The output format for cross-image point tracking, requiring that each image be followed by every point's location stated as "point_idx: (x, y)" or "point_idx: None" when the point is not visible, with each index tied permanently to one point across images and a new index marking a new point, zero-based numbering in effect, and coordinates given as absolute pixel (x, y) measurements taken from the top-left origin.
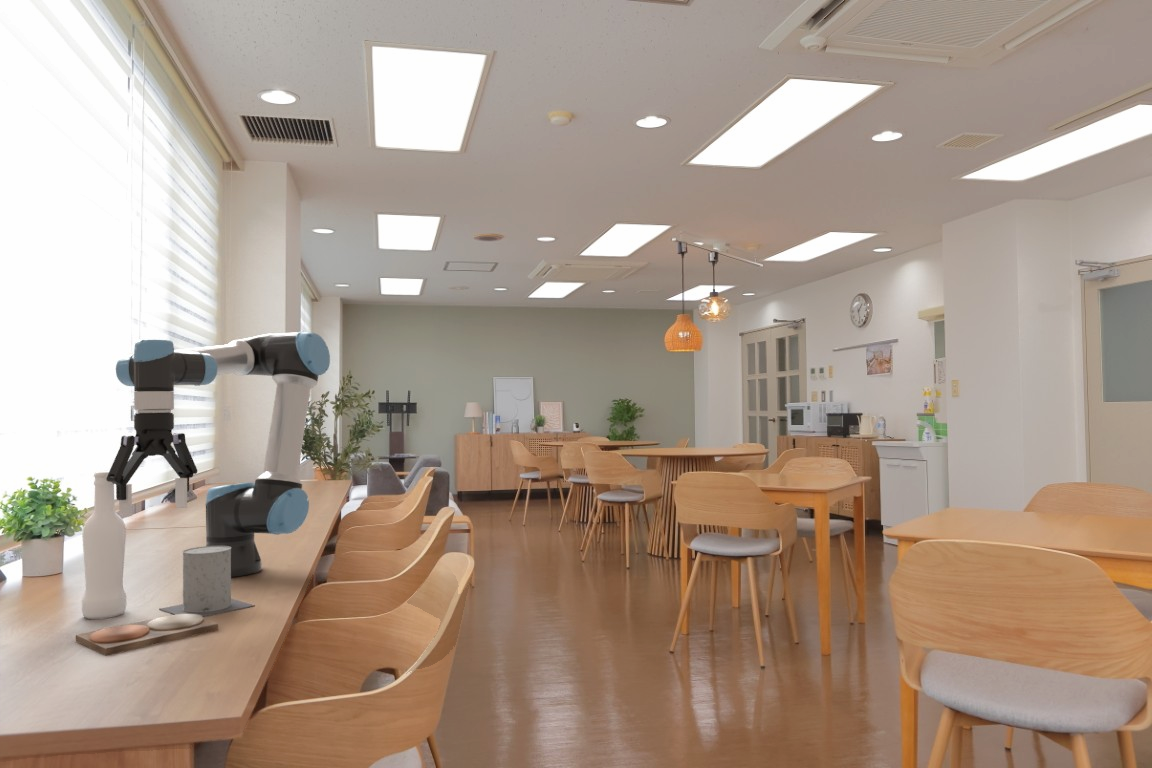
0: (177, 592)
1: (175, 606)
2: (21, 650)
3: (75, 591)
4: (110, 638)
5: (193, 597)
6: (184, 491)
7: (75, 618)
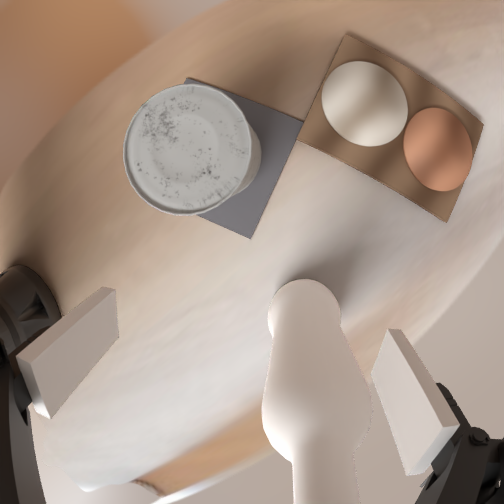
0: (138, 301)
1: (228, 220)
2: (475, 260)
3: (190, 435)
4: (467, 138)
5: (258, 147)
6: (73, 323)
7: None
